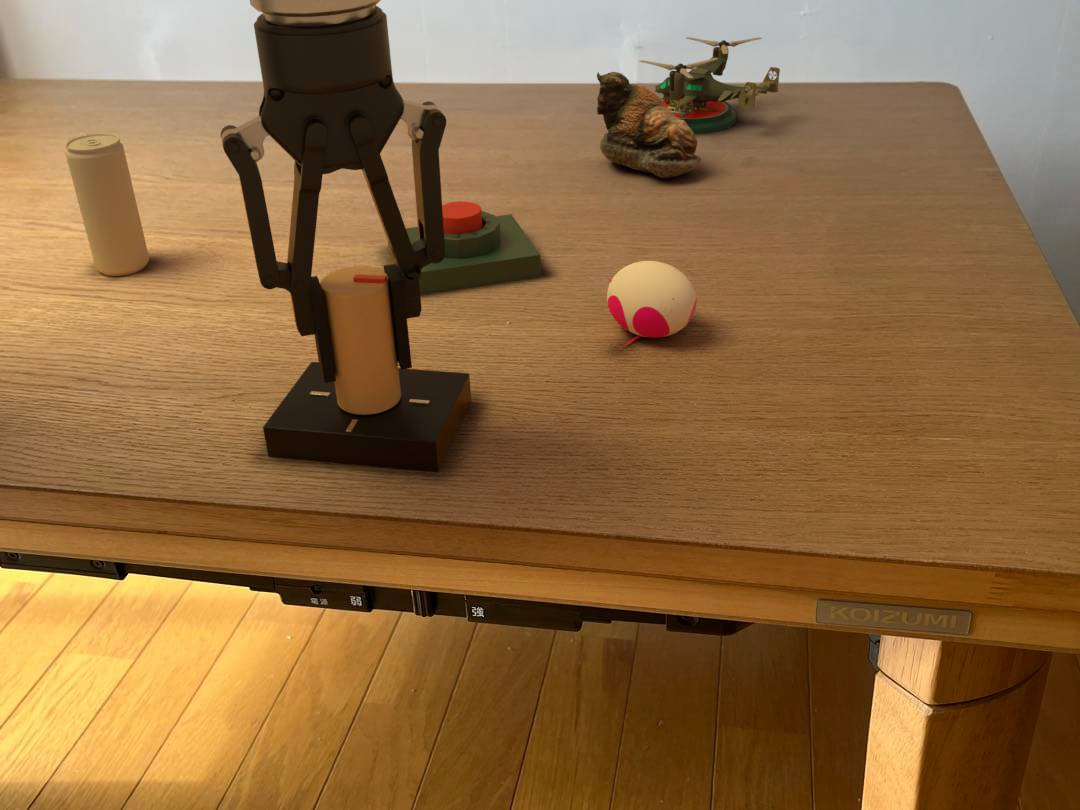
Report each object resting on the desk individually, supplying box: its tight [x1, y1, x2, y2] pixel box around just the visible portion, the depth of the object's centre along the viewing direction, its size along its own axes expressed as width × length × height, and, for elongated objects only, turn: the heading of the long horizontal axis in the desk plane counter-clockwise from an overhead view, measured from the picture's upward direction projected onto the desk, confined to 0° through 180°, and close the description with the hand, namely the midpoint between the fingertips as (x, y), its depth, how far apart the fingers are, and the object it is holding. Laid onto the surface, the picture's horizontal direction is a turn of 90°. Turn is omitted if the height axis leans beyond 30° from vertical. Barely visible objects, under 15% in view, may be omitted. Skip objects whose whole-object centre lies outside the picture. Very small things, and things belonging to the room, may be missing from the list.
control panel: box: [262, 361, 472, 473], centre depth 77 cm, size 12×9×3 cm
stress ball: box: [606, 260, 697, 349], centre depth 88 cm, size 8×8×7 cm
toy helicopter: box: [638, 36, 781, 135], centre depth 132 cm, size 20×15×8 cm
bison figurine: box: [596, 71, 702, 179], centre depth 118 cm, size 12×7×10 cm, turn 56°
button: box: [442, 200, 483, 234], centre depth 99 cm, size 4×4×2 cm
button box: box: [387, 210, 542, 296], centre depth 100 cm, size 12×10×4 cm
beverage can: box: [64, 132, 150, 277], centre depth 100 cm, size 5×5×12 cm
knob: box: [320, 265, 401, 415], centre depth 74 cm, size 4×4×9 cm
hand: (365, 365), depth 75 cm, fingers closed on knob, 4 cm apart
